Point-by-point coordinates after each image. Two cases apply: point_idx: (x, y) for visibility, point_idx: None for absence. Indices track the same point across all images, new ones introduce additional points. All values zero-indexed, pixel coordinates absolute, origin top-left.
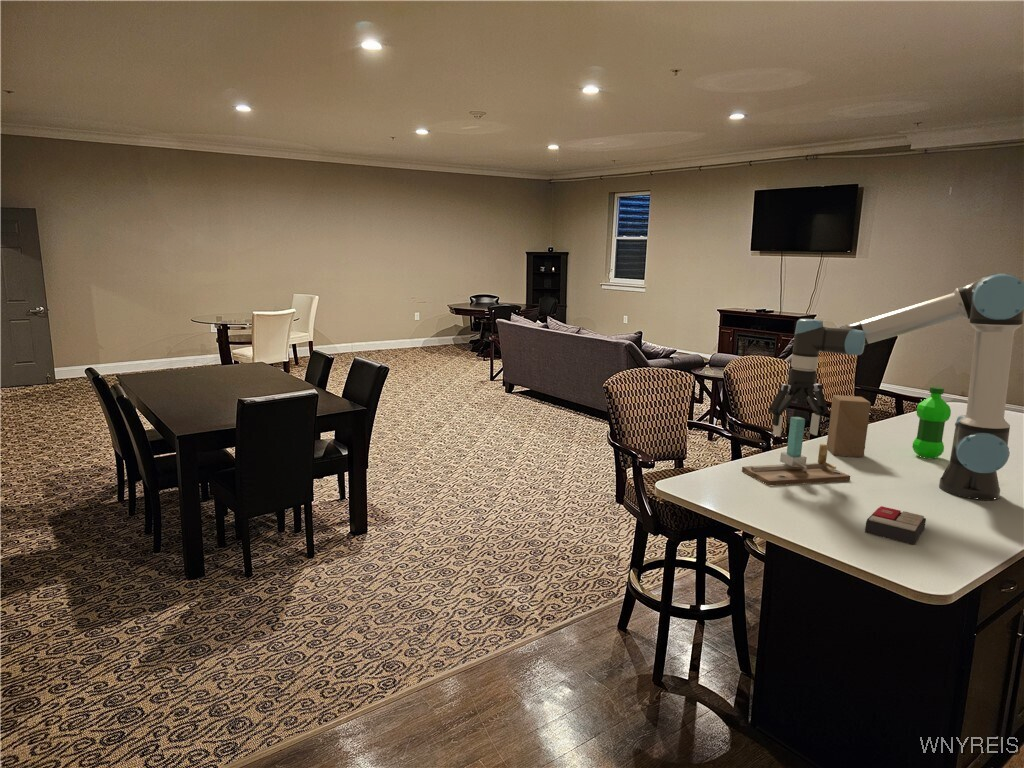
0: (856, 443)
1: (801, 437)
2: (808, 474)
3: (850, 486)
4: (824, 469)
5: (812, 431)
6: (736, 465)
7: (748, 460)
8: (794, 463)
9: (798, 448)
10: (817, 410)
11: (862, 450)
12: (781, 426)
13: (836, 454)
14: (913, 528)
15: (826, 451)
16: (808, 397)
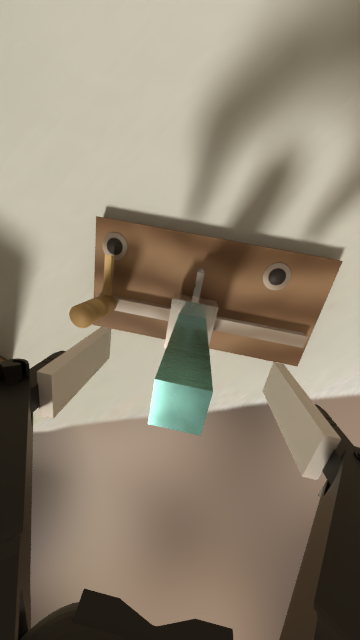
0: None
1: (178, 336)
2: (194, 265)
3: (136, 180)
4: (121, 281)
5: (104, 349)
6: None
7: (211, 403)
8: (210, 301)
9: (188, 323)
10: (29, 402)
11: None
12: (293, 389)
13: (4, 360)
14: None
15: (88, 301)
16: (18, 604)
